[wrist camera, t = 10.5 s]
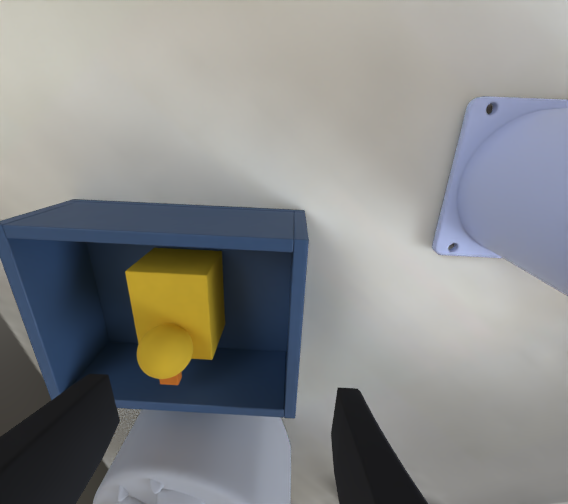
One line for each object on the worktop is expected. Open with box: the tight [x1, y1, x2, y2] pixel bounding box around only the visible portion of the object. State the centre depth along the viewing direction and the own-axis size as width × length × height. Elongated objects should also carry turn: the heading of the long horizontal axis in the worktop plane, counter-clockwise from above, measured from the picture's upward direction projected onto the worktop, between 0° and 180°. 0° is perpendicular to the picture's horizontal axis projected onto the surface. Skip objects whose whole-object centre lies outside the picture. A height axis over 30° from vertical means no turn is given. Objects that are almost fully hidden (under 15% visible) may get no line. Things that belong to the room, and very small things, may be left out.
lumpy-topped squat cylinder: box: [93, 409, 291, 504], centre depth 19 cm, size 10×13×9 cm
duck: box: [125, 248, 225, 385], centre depth 15 cm, size 4×6×6 cm
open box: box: [0, 199, 309, 418], centre depth 16 cm, size 13×10×5 cm
